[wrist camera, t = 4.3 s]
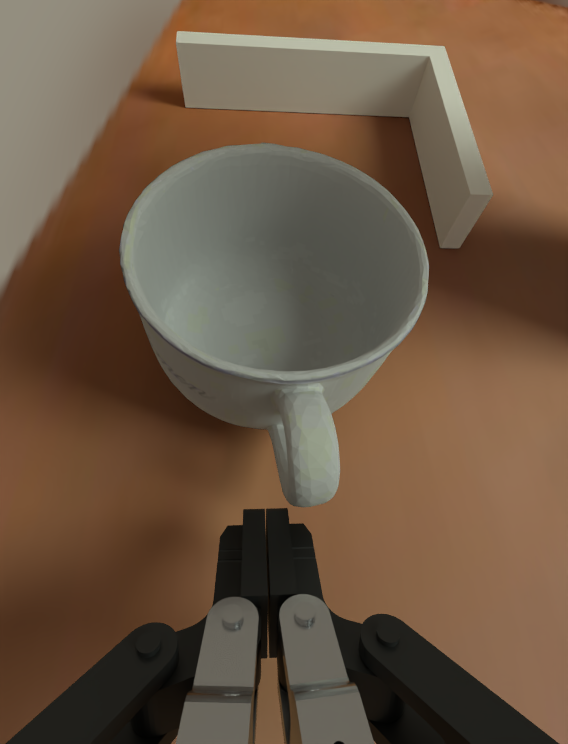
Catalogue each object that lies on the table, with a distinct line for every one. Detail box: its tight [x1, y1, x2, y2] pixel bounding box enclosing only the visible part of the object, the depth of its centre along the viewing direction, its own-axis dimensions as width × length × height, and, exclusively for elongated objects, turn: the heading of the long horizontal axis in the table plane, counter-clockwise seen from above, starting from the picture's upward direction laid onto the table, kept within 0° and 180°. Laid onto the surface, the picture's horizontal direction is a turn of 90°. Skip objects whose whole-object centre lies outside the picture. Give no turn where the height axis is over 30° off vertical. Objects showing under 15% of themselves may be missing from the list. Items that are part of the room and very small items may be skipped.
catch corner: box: [176, 31, 493, 248], centre depth 26 cm, size 17×13×4 cm
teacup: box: [119, 143, 429, 507], centre depth 18 cm, size 14×11×8 cm
